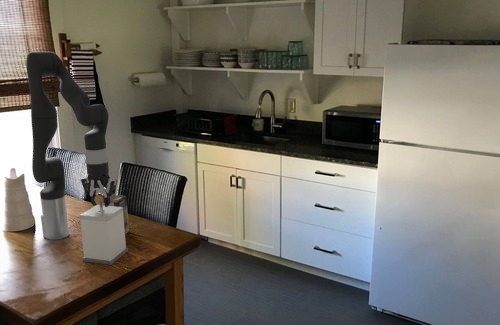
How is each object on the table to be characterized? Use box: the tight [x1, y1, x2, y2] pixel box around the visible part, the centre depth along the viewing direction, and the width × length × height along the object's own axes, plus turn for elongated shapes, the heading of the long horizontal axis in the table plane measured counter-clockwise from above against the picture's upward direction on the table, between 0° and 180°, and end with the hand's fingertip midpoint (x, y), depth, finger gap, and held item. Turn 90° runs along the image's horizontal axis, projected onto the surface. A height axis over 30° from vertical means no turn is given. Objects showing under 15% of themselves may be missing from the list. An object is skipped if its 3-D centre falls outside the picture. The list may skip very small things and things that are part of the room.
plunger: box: [94, 192, 104, 212], centre depth 174 cm, size 4×4×20 cm
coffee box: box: [103, 194, 130, 235], centre depth 195 cm, size 9×6×16 cm
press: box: [79, 204, 129, 266], centre depth 177 cm, size 12×15×18 cm
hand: (101, 205), depth 172 cm, fingers closed on plunger, 4 cm apart
